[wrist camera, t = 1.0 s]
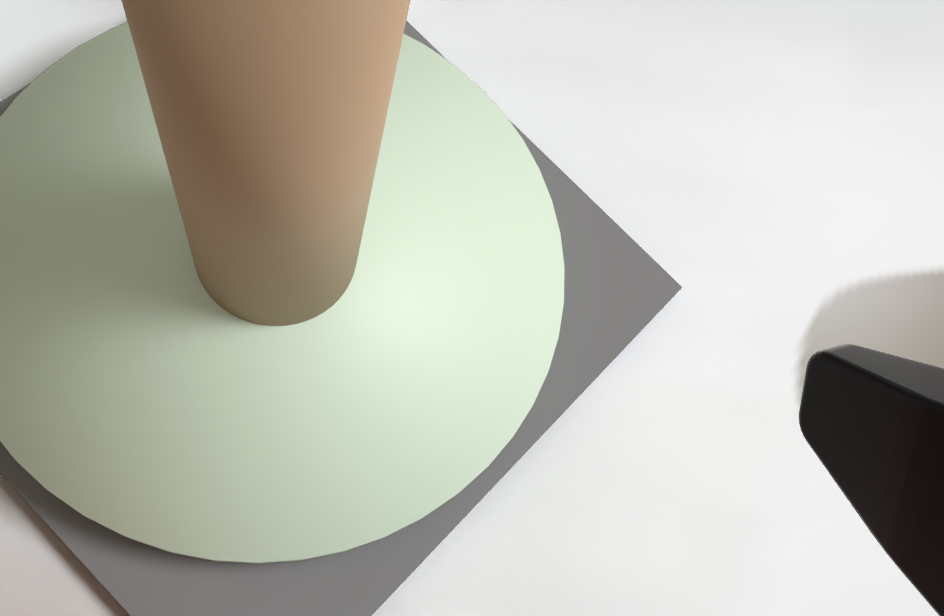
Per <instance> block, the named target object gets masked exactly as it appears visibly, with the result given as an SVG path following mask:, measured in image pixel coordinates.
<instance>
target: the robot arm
mask: <svg viewBox="0 0 944 616" xmlns="http://www.w3.org/2000/svg"><path fill="white" fill-rule="evenodd" d="M799 424H800V427H801V431H802V433H803V435H804V437H805V439H806V441H807V442H808V444H809V445H810V446H811V448H812V449H813V451H814V452H815V453H816V455H817V456H818V458H819V459H820V461H821V462H822V463H823V465H824V466H825V468H826V469H827V470H828V472H829V473H830V475H831V476H832V478H833V479H834V480H835V482H836V483H837V485H838V486H839V487H840V489H841V490H842V492H843V493H844V495H845V496H846V497H847V499H848V500H849V502H850V503H851V504H852V506H853V507H854V509H855V510H856V512H857V513H858V514H859V516H860V517H861V519H862V520H863V521H864V523H865V524H866V526H867V527H868V529H869V530H870V531H871V533H872V534H873V536H874V537H875V538H876V540H877V541H878V542H879V544H880V545H881V546H882V548H883V549H884V550H885V552H886V553H887V554H888V555H889V557H890V558H891V559H892V560H893V562H894V563H895V564H896V565H897V566H898V568H899V569H900V570H901V571H902V573H903V574H904V575H905V576H906V577H907V578H908V580H909V581H910V582H911V583H912V584H913V585H914V587H915V588H916V589H917V590H918V591H919V592H920V594H921V595H922V596H923V597H924V598H925V599H926V601H927V602H928V603H929V604H930V605H931V606H932V608H933V609H934V610H935V611H936V612H937V613H938V615H939V616H944V369H943V368H939V367H936V366H932V365H928V364H924V363H921V362H917V361H913V360H909V359H905V358H902V357H898V356H894V355H890V354H886V353H882V352H879V351H875V350H871V349H868V348H864V347H860V346H856V345H850V344H846V345H840V346H836V347H832V348H829V349H825V350H821V351H818V352H816V353H815V354H813V355H812V356H811V358H810V360H809V361H808V364H807V368H806V374H805V380H804V386H803V392H802V398H801V404H800V411H799Z"/></svg>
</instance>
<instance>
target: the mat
mask: <svg viewBox="0 0 944 616" xmlns="http://www.w3.org/2000/svg"><path fill="white" fill-rule="evenodd" d="M404 34H406V35H407V36H409V37H411V38H413V39H415V40H417V41H419V42H421V43H422V44H424V45H426V46H428V47H429V48H430V49H432V50H433V51H435V52H436V53H438V54H439V55H441V54H440V53H439V52H438V51H437V50H436V49H435V48H434V47H433V46H432V45H431V44H430V43H429V42H428V41H427V40H426V39H425V38H424V37H423V36H422V35H421V34H420V33H419V32H418V31H417V30H416V29H415V28H413V27H412V26H411V25H410V24H409V23H408V22H407V21H406V23H405V28H404ZM441 56H442V55H441ZM442 57H443V56H442ZM445 59H446V58H445ZM29 85H30V84H29ZM29 85H27V86H26V87H24V88H23V89H21V90H19V91H18V92H16V93H15V94H13V95H11V96H10V97H8V98H7V99H5V100H3V101H2V102H0V117H1V115H2V114H3V113H4V112H5V111H6V109H7V108H8V107H9V106H10V105H11V103H12V102H13V101H14V100H15V99H16V97H17V96H18V95H19V94H20V93H21V92H22V91H23V90H24V89H26V88H27V87H28V86H29ZM509 121H510V120H509ZM510 122H511V121H510ZM511 123H512V122H511ZM512 125H513V126H514V128H515V129H516V130H517V132H518V133H519V135H520V136H521V137H522V139H523V140H524V142H525V144H526V146H527V147H528V149H529V151H530V153H531V155H532V157H533V158H534V160H535V162H536V164H537V166H538V167H539V169H540V172H541V174H542V177H543V179H544V182H545V184H546V187H547V189H548V192H549V194H550V197H551V199H552V202H553V206H554V210H555V214H556V218H557V222H558V226H559V230H560V234H561V242H562V250H563V259H564V267H565V269H564V305H563V312H562V319H561V325H560V332H559V338H558V341H557V344H556V348H555V351H554V355H553V358H552V361H551V365H550V368H549V371H548V374H547V376H546V378H545V380H544V382H543V385H542V387H541V389H540V391H539V393H538V396H537V398H536V400H535V402H534V404H533V406H532V408H531V409H530V411H529V412H528V414H527V416H526V417H525V419H524V420H523V422H522V424H521V425H520V427H519V428H518V430H517V431H516V433H515V435H514V436H513V437H512V439H511V440H510V441H509V442H508V443H507V445H506V446H505V447H504V448H503V449H502V451H501V452H500V453H499V454H498V455H497V457H496V458H495V459H494V460H493V461H492V462H491V464H490V465H489V466H488V467H487V468H486V469H485V470H484V471H483V472H481V473H480V474H479V475H478V476H477V477H476V478H475V479H474V480H473V481H471V482H470V483H469V484H468V485H467V486H466V487H465V488H464V489H463V490H462V491H460V492H459V493H458V494H457V495H455V496H454V497H452V498H451V499H449V500H448V501H446V502H445V503H444V504H442V505H441V506H439V507H438V508H436V509H435V510H433V511H432V512H430V513H429V514H428V515H426V516H425V517H423V518H421V519H420V520H418V521H416V522H414V523H412V524H410V525H408V526H406V527H404V528H402V529H400V530H398V531H396V532H394V533H392V534H390V535H388V536H387V537H385V538H383V539H380V540H377V541H374V542H371V543H368V544H365V545H363V546H360V547H357V548H354V549H351V550H348V551H346V552H342V553H337V554H333V555H328V556H323V557H318V558H313V559H309V560H304V561H294V562H280V563H267V564H250V563H232V562H216V561H211V560H205V559H200V558H195V557H190V556H185V555H180V554H175V553H171V552H168V551H165V550H162V549H159V548H156V547H153V546H151V545H148V544H145V543H142V542H139V541H136V540H133V539H130V538H128V537H125V536H123V535H121V534H119V533H117V532H115V531H113V530H111V529H109V528H107V527H105V526H103V525H101V524H99V523H97V522H95V521H93V520H91V519H89V518H88V517H86V516H84V515H82V514H81V513H79V512H78V511H76V510H75V509H74V508H72V507H71V506H69V505H68V504H66V503H65V502H64V501H62V500H61V499H59V498H58V497H56V496H55V495H54V494H52V493H51V492H49V491H48V490H47V489H46V488H44V487H43V486H42V485H41V484H40V483H39V482H38V481H37V480H36V479H35V478H34V477H33V476H32V475H31V474H30V473H29V472H28V471H26V470H25V469H24V468H23V467H22V466H21V465H20V464H19V463H18V462H17V461H16V460H15V459H14V458H13V457H12V455H11V454H10V453H9V451H8V450H7V449H6V448H5V446H4V445H3V444H2V442H1V441H0V473H1V474H2V475H3V476H4V477H5V478H6V479H7V480H8V482H9V483H10V484H11V485H12V486H13V487H14V488H15V489H16V490H17V491H18V493H19V494H20V495H21V496H22V497H23V498H24V499H25V500H26V501H27V502H28V504H29V505H30V506H31V507H32V508H33V509H34V510H35V511H36V512H37V513H38V515H39V516H40V517H41V518H42V519H43V520H44V521H45V522H46V523H47V524H48V526H49V527H50V528H51V529H52V530H53V531H54V532H55V533H56V534H57V536H58V537H59V538H60V539H61V540H62V541H63V542H64V543H65V544H66V545H67V547H68V548H69V549H70V550H71V551H72V552H73V553H74V554H75V555H76V556H77V558H78V559H79V560H80V561H81V562H82V563H83V564H84V565H85V566H86V567H87V569H88V570H89V571H90V572H91V573H92V574H93V575H94V576H95V577H96V578H97V580H98V581H99V582H100V583H101V584H102V585H103V586H104V587H105V588H106V589H107V591H108V592H109V593H110V594H111V595H112V596H113V597H114V598H115V599H116V600H117V602H118V603H119V604H120V605H121V606H122V607H123V608H124V609H125V610H126V611H127V613H128V614H129V615H130V616H371V615H372V614H373V613H374V612H375V611H376V610H377V609H378V608H379V607H380V606H381V605H382V604H383V603H384V602H385V601H386V600H387V599H388V597H389V596H390V595H391V594H392V593H393V592H394V591H395V590H396V589H397V588H398V587H399V586H400V585H401V584H402V583H403V582H404V581H405V580H406V578H407V577H408V576H409V575H410V574H411V573H412V572H413V571H414V570H415V569H416V568H417V567H418V566H419V565H420V564H421V563H422V562H423V561H424V559H425V558H426V557H427V556H428V555H429V554H430V553H431V552H432V551H433V550H434V549H435V548H436V547H437V546H438V545H439V544H440V543H441V541H442V540H443V539H444V538H445V537H446V536H447V535H448V534H449V533H450V532H451V531H452V530H453V529H454V528H455V527H456V526H457V525H458V524H459V522H460V521H461V520H462V519H463V518H464V517H465V516H466V515H467V514H468V513H469V512H470V511H471V510H472V509H473V508H474V507H475V506H476V505H477V503H478V502H479V501H480V500H481V499H482V498H483V497H484V496H485V495H486V494H487V493H488V492H489V491H490V490H491V489H492V488H493V487H494V486H495V484H496V483H497V482H498V481H499V480H500V479H501V478H502V477H503V476H504V475H505V474H506V473H507V472H508V471H509V470H510V469H511V468H512V466H513V465H514V464H515V463H516V462H517V461H518V460H519V459H520V458H521V457H522V456H523V455H524V454H525V453H526V452H527V451H528V450H529V449H530V447H531V446H532V445H533V444H534V443H535V442H536V441H537V440H538V439H539V438H540V437H541V436H542V435H543V434H544V433H545V432H546V431H547V430H548V428H549V427H550V426H551V425H552V424H553V423H554V422H555V421H556V420H557V419H558V418H559V417H560V416H561V415H562V414H563V413H564V412H565V410H566V409H567V408H568V407H569V406H570V405H571V404H572V403H573V402H574V401H575V400H576V399H577V398H578V397H579V396H580V395H581V394H582V393H583V391H584V390H585V389H586V388H587V387H588V386H589V385H590V384H591V383H592V382H593V381H594V380H595V379H596V378H597V377H598V376H599V375H600V374H601V372H602V371H603V370H604V369H605V368H606V367H607V366H608V365H609V364H610V363H611V362H612V361H613V360H614V359H615V358H616V357H617V356H618V355H619V353H620V352H621V351H622V350H623V349H624V348H625V347H626V346H627V345H628V344H629V343H630V342H631V341H632V340H633V339H634V338H635V337H636V335H637V334H638V333H639V332H640V331H641V330H642V329H643V328H644V327H645V326H646V325H647V324H648V323H649V322H650V321H651V320H652V319H653V318H654V316H655V315H656V314H657V313H658V312H659V311H660V310H661V309H662V308H663V307H664V306H665V305H666V304H667V303H668V302H669V301H670V300H671V299H672V297H673V296H674V295H675V294H676V293H677V292H678V291H679V290H680V289H681V288H682V287H681V286H680V285H679V284H678V283H677V282H676V281H675V280H674V279H673V278H672V277H671V276H670V275H669V274H668V273H667V272H666V271H665V270H664V269H663V268H662V267H661V266H660V265H659V264H658V263H656V262H655V261H654V260H653V259H652V258H651V257H650V256H649V255H648V254H647V253H646V252H645V251H644V250H643V249H642V248H641V247H640V246H639V245H638V244H637V243H636V242H635V241H634V240H633V239H632V238H631V237H630V236H629V235H628V234H626V233H625V232H624V231H623V230H622V229H621V228H620V227H619V226H618V225H617V224H616V223H615V222H614V221H613V220H612V219H611V218H610V217H609V216H608V215H607V214H606V213H605V212H604V211H603V210H602V209H601V208H600V207H599V206H598V205H596V204H595V203H594V202H593V201H592V200H591V199H590V198H589V197H588V196H587V195H586V194H585V193H584V192H583V191H582V190H581V189H580V188H579V187H578V186H577V185H576V184H575V183H574V182H573V181H572V180H571V179H570V178H569V177H568V176H567V175H565V174H564V173H563V172H562V171H561V170H560V169H559V168H558V167H557V166H556V165H555V164H554V163H553V162H552V161H551V160H550V159H549V158H548V157H547V156H546V155H545V154H544V153H543V152H542V151H541V150H540V149H539V148H538V147H537V146H535V145H534V144H533V143H532V142H531V141H530V140H529V139H528V138H527V137H526V136H525V135H524V134H523V133H522V132H521V131H520V130H519V129H518V128H517V127H516V126H515V125H514V124H513V123H512Z"/></svg>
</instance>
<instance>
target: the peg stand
mask: <svg viewBox="0 0 944 616" xmlns="http://www.w3.org/2000/svg"><path fill="white" fill-rule="evenodd" d="M122 3H123V7H124V10H125V14H126V18H127V21H128V22H127V23H125V24H122V25H120V26H117V27H115V28H112V29H110V30H108V31H106V32H104V33H103V34H101V35H99V36H97V37H95V38H93V39H91V40H90V41H88V42H86V43H84V44H82V45H80V46H78V47H77V48H76V49H74V50H73V51H71V52H70V53H69V54H67V55H66V56H64V57H63V58H61V59H60V60H59V61H57V62H56V63H54V64H53V65H52V66H50V67H49V68H47V69H46V70H45V71H44V72H43V73H42V74H41V75H40V76H39V77H37V78H36V79H35V80H34V81H33V82H32V83H31V84H30V85H29V86H28V87H27V88H26V89H24V90H23V91H22V92H21V93H20V94H19V95H18V96H17V97H16V99H15V100H14V101H13V102H12V103H11V105H10V106H9V107H8V108H7V109H6V111H5V112H4V113H3V114H2V115H1V117H0V441H1V442H2V444H3V445H4V446H5V448H6V449H7V450H8V451H9V453H10V454H11V455H12V457H13V458H14V459H15V460H16V461H17V462H18V463H19V464H20V465H21V466H22V467H23V468H24V469H25V470H26V471H28V472H29V473H30V474H31V475H32V476H33V477H34V478H35V479H36V480H37V481H38V482H39V483H40V484H41V485H42V486H43V487H44V488H46V489H47V490H48V491H49V492H51V493H52V494H54V495H55V496H56V497H58V498H59V499H61V500H62V501H64V502H65V503H66V504H68V505H69V506H71V507H72V508H74V509H75V510H76V511H78V512H79V513H81V514H82V515H84V516H86V517H88V518H89V519H91V520H93V521H95V522H97V523H99V524H101V525H103V526H105V527H107V528H109V529H111V530H113V531H115V532H117V533H119V534H121V535H123V536H125V537H128V538H130V539H133V540H136V541H139V542H142V543H145V544H148V545H151V546H153V547H156V548H159V549H162V550H165V551H168V552H171V553H175V554H180V555H185V556H190V557H195V558H200V559H205V560H211V561H216V562H232V563H250V564H267V563H280V562H294V561H304V560H309V559H313V558H318V557H323V556H328V555H333V554H337V553H342V552H346V551H348V550H351V549H354V548H357V547H360V546H363V545H365V544H368V543H371V542H374V541H377V540H380V539H383V538H385V537H387V536H388V535H390V534H392V533H394V532H396V531H398V530H400V529H402V528H404V527H406V526H408V525H410V524H412V523H414V522H416V521H418V520H420V519H421V518H423V517H425V516H426V515H428V514H429V513H430V512H432V511H433V510H435V509H436V508H438V507H439V506H441V505H442V504H444V503H445V502H446V501H448V500H449V499H451V498H452V497H454V496H455V495H457V494H458V493H459V492H460V491H462V490H463V489H464V488H465V487H466V486H467V485H468V484H469V483H470V482H471V481H473V480H474V479H475V478H476V477H477V476H478V475H479V474H480V473H481V472H483V471H484V470H485V469H486V468H487V467H488V466H489V465H490V464H491V462H492V461H493V460H494V459H495V458H496V457H497V455H498V454H499V453H500V452H501V451H502V449H503V448H504V447H505V446H506V445H507V443H508V442H509V441H510V440H511V439H512V437H513V436H514V435H515V433H516V431H517V430H518V428H519V427H520V425H521V424H522V422H523V420H524V419H525V417H526V416H527V414H528V412H529V411H530V409H531V408H532V406H533V404H534V402H535V400H536V398H537V396H538V393H539V391H540V389H541V387H542V385H543V382H544V380H545V378H546V376H547V374H548V371H549V368H550V365H551V361H552V358H553V355H554V351H555V348H556V344H557V341H558V338H559V332H560V325H561V319H562V312H563V305H564V269H565V267H564V259H563V250H562V242H561V234H560V230H559V226H558V222H557V218H556V214H555V210H554V206H553V202H552V199H551V197H550V194H549V192H548V189H547V187H546V184H545V182H544V179H543V177H542V174H541V172H540V169H539V167H538V166H537V164H536V162H535V160H534V158H533V157H532V155H531V153H530V151H529V149H528V147H527V146H526V144H525V142H524V140H523V139H522V137H521V136H520V135H519V133H518V132H517V130H516V129H515V128H514V126H513V125H512V123H511V122H510V121H509V119H508V118H507V117H506V115H505V114H504V112H503V111H502V110H501V109H500V108H499V107H498V106H497V105H496V104H495V103H494V102H493V100H492V99H491V98H490V97H489V96H488V95H487V94H486V93H485V92H484V91H483V90H482V88H481V87H480V86H478V85H477V84H476V83H475V82H474V81H473V80H471V79H470V78H469V77H468V76H467V75H466V74H464V73H463V72H462V71H461V70H460V69H459V68H457V67H456V66H455V65H454V64H452V63H451V62H450V61H448V60H447V59H445V58H444V57H442V56H441V55H439V54H438V53H436V52H435V51H433V50H432V49H430V48H429V47H428V46H426V45H424V44H422V43H421V42H419V41H417V40H415V39H413V38H411V37H409V36H407V35H406V34H404V28H405V23H406V18H407V14H408V9H409V4H410V0H122Z"/></svg>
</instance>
